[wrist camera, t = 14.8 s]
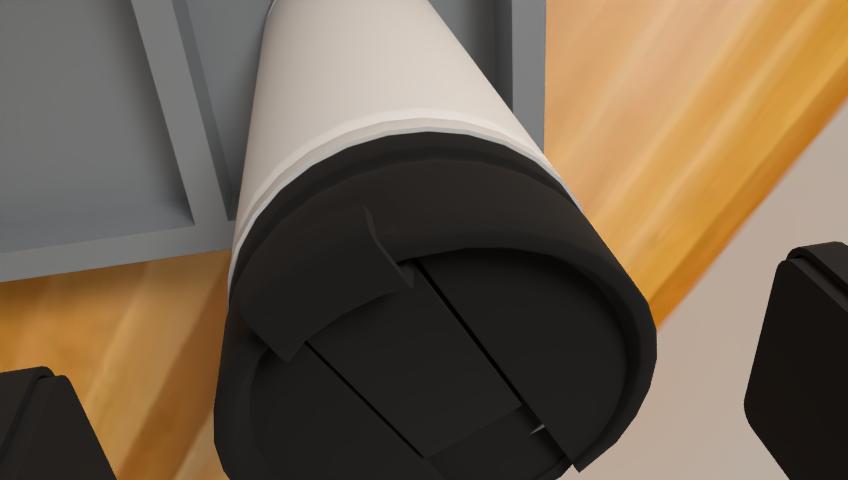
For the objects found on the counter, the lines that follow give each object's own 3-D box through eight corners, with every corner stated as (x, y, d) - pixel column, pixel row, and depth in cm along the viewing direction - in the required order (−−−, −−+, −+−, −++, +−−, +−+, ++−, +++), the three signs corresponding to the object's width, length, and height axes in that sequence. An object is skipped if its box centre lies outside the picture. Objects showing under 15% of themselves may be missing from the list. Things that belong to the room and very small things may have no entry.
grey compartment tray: (-292, -114, 22) (-386, -104, 19) (517, -187, 24) (549, -188, 21) (-91, 252, 29) (-136, 302, 26) (519, 166, 31) (542, 203, 28)
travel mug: (369, -97, 24) (559, 106, 7) (462, 63, 27) (744, 466, 10) (221, 5, 25) (62, 410, 8) (329, 148, 28) (382, 649, 11)
